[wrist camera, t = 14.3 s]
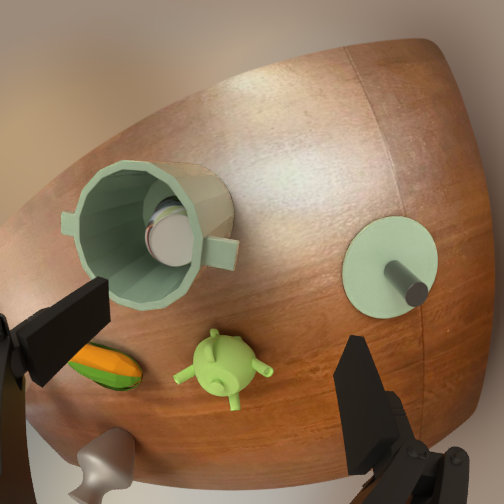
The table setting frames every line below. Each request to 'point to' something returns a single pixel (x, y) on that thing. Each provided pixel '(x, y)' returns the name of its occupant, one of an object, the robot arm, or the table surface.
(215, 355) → the teapot
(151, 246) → the beverage can
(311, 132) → the table surface
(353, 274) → the lid
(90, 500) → the vase
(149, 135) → the table surface
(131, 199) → the pot
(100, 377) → the corn
